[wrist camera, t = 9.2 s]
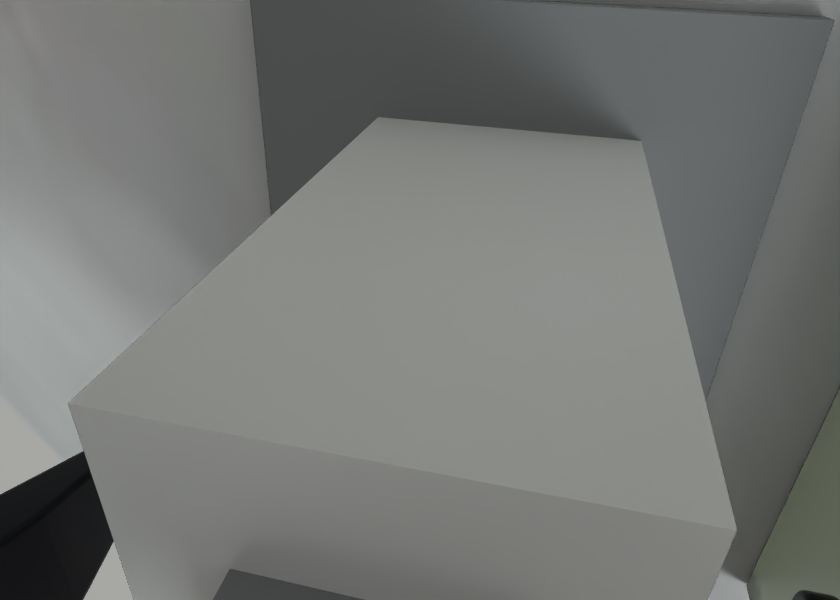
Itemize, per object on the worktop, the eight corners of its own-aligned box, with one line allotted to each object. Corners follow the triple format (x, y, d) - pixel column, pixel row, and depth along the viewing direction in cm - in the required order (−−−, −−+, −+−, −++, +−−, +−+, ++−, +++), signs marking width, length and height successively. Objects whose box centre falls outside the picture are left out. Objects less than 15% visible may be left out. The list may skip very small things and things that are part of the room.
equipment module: (569, 484, 15) (551, 1008, 8) (380, 449, 15) (204, 894, 8) (641, 140, 10) (751, 590, 3) (378, 117, 11) (26, 441, 4)
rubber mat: (649, 548, 16) (650, 562, 15) (303, 478, 17) (298, 489, 17) (826, 17, 9) (833, 20, 9) (259, -16, 11) (249, -14, 11)
